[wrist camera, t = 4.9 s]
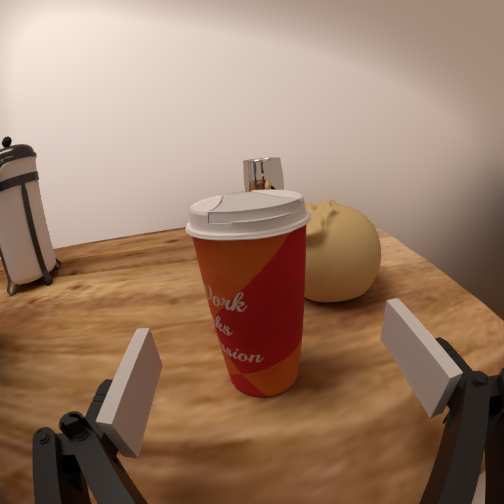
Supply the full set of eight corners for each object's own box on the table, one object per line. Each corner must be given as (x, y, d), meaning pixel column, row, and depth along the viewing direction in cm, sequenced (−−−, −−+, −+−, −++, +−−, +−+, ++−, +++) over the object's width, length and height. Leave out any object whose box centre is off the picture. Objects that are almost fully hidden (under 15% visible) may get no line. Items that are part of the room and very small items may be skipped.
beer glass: (254, 234, 58) (246, 159, 52) (288, 233, 56) (283, 156, 51) (246, 246, 51) (237, 161, 46) (285, 245, 50) (279, 158, 45)
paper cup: (211, 354, 25) (181, 199, 20) (291, 335, 26) (283, 184, 21) (228, 420, 17) (183, 223, 13) (328, 391, 19) (336, 200, 14)
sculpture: (288, 269, 41) (283, 193, 37) (372, 269, 37) (374, 192, 33) (271, 313, 30) (263, 214, 27) (383, 315, 27) (392, 213, 23)
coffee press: (81, 267, 50) (54, 119, 39) (19, 303, 36) (-19, 133, 26) (48, 260, 57) (25, 141, 46) (-2, 287, 43) (-31, 156, 33)
